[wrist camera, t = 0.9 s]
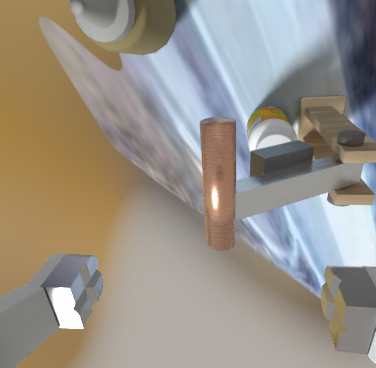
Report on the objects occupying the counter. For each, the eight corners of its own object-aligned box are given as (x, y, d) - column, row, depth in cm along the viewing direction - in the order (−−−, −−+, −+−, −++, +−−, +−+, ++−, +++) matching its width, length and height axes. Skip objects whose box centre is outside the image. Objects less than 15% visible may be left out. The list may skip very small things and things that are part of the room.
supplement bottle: (296, 120, 38) (314, 146, 30) (270, 151, 41) (278, 183, 32) (263, 96, 38) (271, 117, 29) (238, 130, 40) (239, 157, 32)
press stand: (300, 97, 37) (340, 139, 23) (343, 95, 36) (410, 138, 22) (295, 149, 40) (327, 213, 26) (334, 148, 39) (388, 214, 25)
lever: (185, 115, 21) (209, 129, 18) (339, 88, 26) (382, 95, 22) (194, 226, 26) (214, 254, 23) (323, 187, 30) (357, 205, 27)
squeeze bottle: (109, 36, 37) (15, 42, 21) (127, -38, 33) (27, -98, 17) (168, 63, 37) (118, 89, 22) (192, -7, 33) (153, -37, 18)
